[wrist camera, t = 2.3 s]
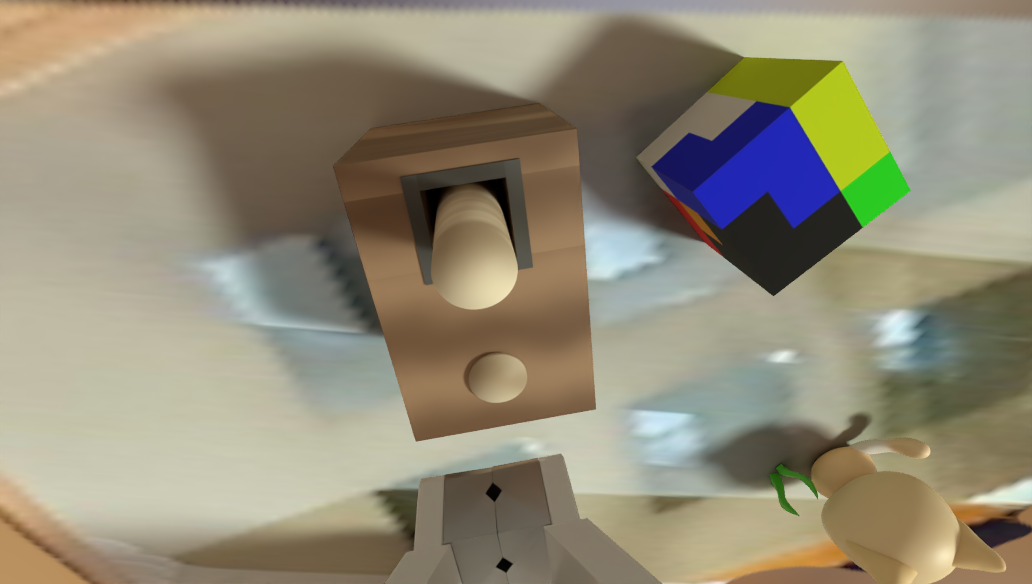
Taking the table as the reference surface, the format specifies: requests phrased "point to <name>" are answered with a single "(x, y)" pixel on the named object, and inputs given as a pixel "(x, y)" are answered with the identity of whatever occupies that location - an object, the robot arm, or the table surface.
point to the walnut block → (539, 253)
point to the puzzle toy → (777, 166)
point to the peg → (472, 247)
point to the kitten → (890, 516)
